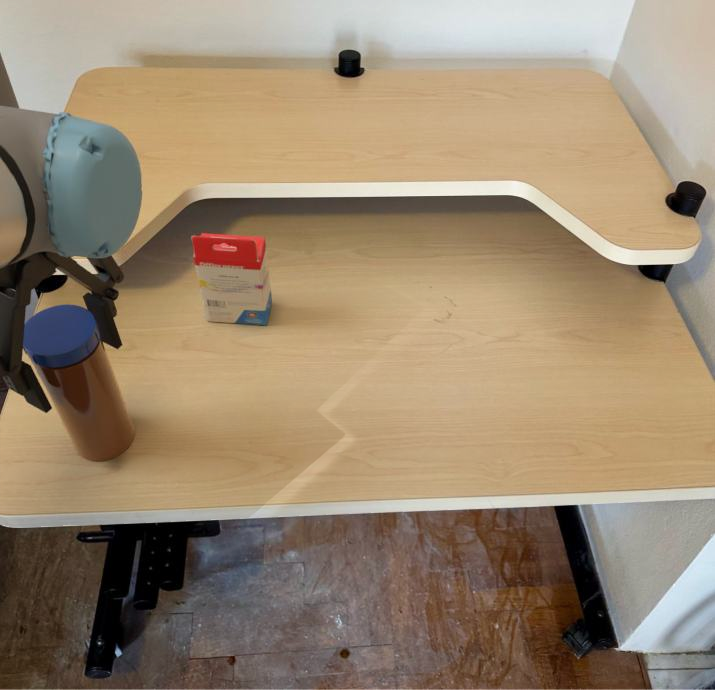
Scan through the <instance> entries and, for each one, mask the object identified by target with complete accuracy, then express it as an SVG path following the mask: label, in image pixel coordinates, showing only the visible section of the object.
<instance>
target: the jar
mask: <svg viewBox="0 0 715 690" xmlns="http://www.w3.org/2000/svg"><path fill="white" fill-rule="evenodd" d="M30 361H31V363H32V365H33V367H34V369H35V371H36V373H37V375H38V377H39V379H40V381H41V383H42V385H43V387H44V389H45V391H46V393H47V395H48V397H49V399H50V402H51V403H52V405H53V407H54V409H55V411H56V414H57V415H58V417H59V419H60V421H61V423H62V425H63V427H64V429H65V431H66V434H67V435H68V437H69V439H70V441H71V443H72V445H73V447H74V449H75V450H76V452H77V454H78V455H79V456H80V458H81V457H82V458H83V459H85V460H88V461H90V462H91V461H92V462H105V461H109V460H112V459H115V458H117V457H119V456H120V455H122V454H124V452H126V451H127V449H129V447H130V446H131V445H132V443H133V441H134V438H135V434H136V433H135V432H136V431H135V430H136V428H135V426H134V423H133V421H132V417H131V415H130V411H129V410H128V407H127V404H126V401H125V398H124V396H123V393H122V391H121V387H120V385H119V383H118V379H117V377H116V374H115V372H114V368H113V367H112V364H111V360H110V358H109V355H108V353H107V350H106V347H105V344H104V342H102V339H101V337H99V341H98V344H97V346H96V347H95V349H94V350H93V351H92V352H91V353H90V354H89V355H88V356H86V357H85V358H83V359H82V360H80V361H78V362H76V363H74V364H70V365H67V366H62V367H54V368H52V367H45V366H41V365H38V364H35V362H33V361H32V360H31V359H30Z"/></svg>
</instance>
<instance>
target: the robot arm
mask: <svg viewBox="0 0 715 690" xmlns="http://www.w3.org/2000/svg"><path fill="white" fill-rule="evenodd" d="M140 163H141V162H140V160H139V157H138V155H137V152H136V150H135V147H134V146H133V144H132V143H131V141H130V140H129V138H128V137H127V136H126V135H125V134H124V133H123V132H122V131H120V130H119V129H117V128H116V127H114V126H112V125H110V124H107V123H102V122H98V121H94V120H91V119H87V118H84V117H78V116H75V115H72V114H71V113H70V112H65V111H61V112H59V113H53V112H46V111H39V110H32V109H25V108H21V107H20V106H19V102H18V100H17V97H16V94H15V91H14V88H13V85H12V83H11V79H10V77H9V74H8V71H7V69H6V64H5V62H4V59H3V57H2V54H1V52H0V382H1V381H2V380H3V381H4V383H5V384H6V387H7V388H8V389H9V390H11V391H13V392H14V393H16V394H18V395H20V396H22V397H23V398H24V400H25V402H26V403H28V404H29V405H30V406H33V407H34V408H36V409H37V410H40V411H41V412H43V413H45V414H47V413H49V412H50V411H51V410H52V409H53V407H52V405H51V403H50V400H49V399H48V397H47V394H46V392H45V391H44V389H43V387H42V385H41V383H40V381H39V378H38V377H37V375H36V373H35V371H34V369H33V367H32V365H31V364H29V363H28V362H25V361H23V351H24V349H23V339H24V325H25V323H26V309H27V306H30V304H31V301H32V291H33V290H34V289H35V288H36V287H38V286H39V284H40V283H41V282H42V281H43V280H45V279H47V278H51V276H53V275H55V274H56V273H57V270H58V271H59V272H61V273H62V274H64V275H66V276H67V277H68V278H70V279H71V280H73V281H74V282H76V283H78V284H79V285H81V286H82V287H83V288H85V289H86V290H88V291H87V292H86V293H85V294H84V295H82V299H83V302H84V304H85V307H86V309H87V310H89V311H90V312H91V313H92V314H93V316H94V318H95V320H96V321H97V324H98V326H99V328H98V329H99V333H100V337H101V339H102V342H103V344H106V345H108V346H110V347H112V348H114V349H116V350H119V349H120V348H121V347H123V342H122V340H121V336H120V333H119V331H118V328H117V324H116V322H115V319H114V318H116V317H117V316H118V310H117V307H116V304H115V301H116V300H118V298H119V295H120V292H119V290H118V289H116V288H114V286H115V285H116V284H121V283H122V282H123V281H124V278H125V274H124V272H123V270H122V269H121V267H120V266H119V264H118V263H117V261H116V259H115V258H114V257H113V255H115V254H116V253H117V252H119V251H120V250H121V249H122V248H124V246H125V245H126V243H127V242H128V241H129V240H130V238H131V236H132V234H133V232H134V231H135V228H136V226H137V224H138V220H139V217H140V213H141V208H142V200H143V190H142V186H143V183H142V169H141V164H140ZM73 257H80V258H86V259H87V260H88V262H89V264H90V265H91V266H92V267H93V269H94V270H95V271H96V273H97V275H95V274H93V273H92V272H91V271H89V270H88V269H86V268H85V267H83V266H82V265H81V264H79V263H78V261H77V260H75V259H74V258H73ZM89 291H90V292H89Z"/></svg>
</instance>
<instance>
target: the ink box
mask: <svg viewBox="0 0 715 690" xmlns="http://www.w3.org/2000/svg"><path fill="white" fill-rule="evenodd" d="M190 238H191V243H192V247H193V255H192V259H193V264H194V267H195V271H196V276H197V280H198V285H199V290H200V295H201V300H202V304H203V309H204V314H205V317H206V321H207V322H211V323H227V324H228V323H229V324H240V325H241V324H242V325H243V324H244V325H254V326H257V325H258V326H267V325H268V321H269V316H270V312H271V308H272V303H273V299H272V297H273V296H272V288H271V280H270V271H269V270H270V269H269V261H268V254H267V244H266V237H264V236H249V235H248V236H247V235H233V234H217V233H205V232H201V234H200V235H191V237H190Z"/></svg>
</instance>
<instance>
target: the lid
mask: <svg viewBox="0 0 715 690" xmlns="http://www.w3.org/2000/svg"><path fill="white" fill-rule="evenodd" d="M98 328H99V326H98V324H97V321H96V320H95V318H94V316H93V314H92V313H91V312H90V311H89V310H87V308H85V307H83V306H81V305H77V304H58V305H53V306H50V307H47V308H45V309H43V310H42V309H41V310H40V311H38V312H37V313H35V314H34V315H32V316H31V317H30V318H29V319H27V321H25V325H24V339H23V351H24V353H25V355H27V357H28V358H29V359H30V361H31V360H32V361H33V362H35V364H38V365H41V366H45V367H52V368H54V367H62V366H67V365H70V364H74V363H76V362H78V361H80V360H82V359H83V358H85V357H86V356H88V355H89V354H90V353H91V352H92V351H93V350H94V349H95V347H96V346H97V344H98V341H99V337H100V333H99V329H98ZM32 361H31V362H32Z"/></svg>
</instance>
